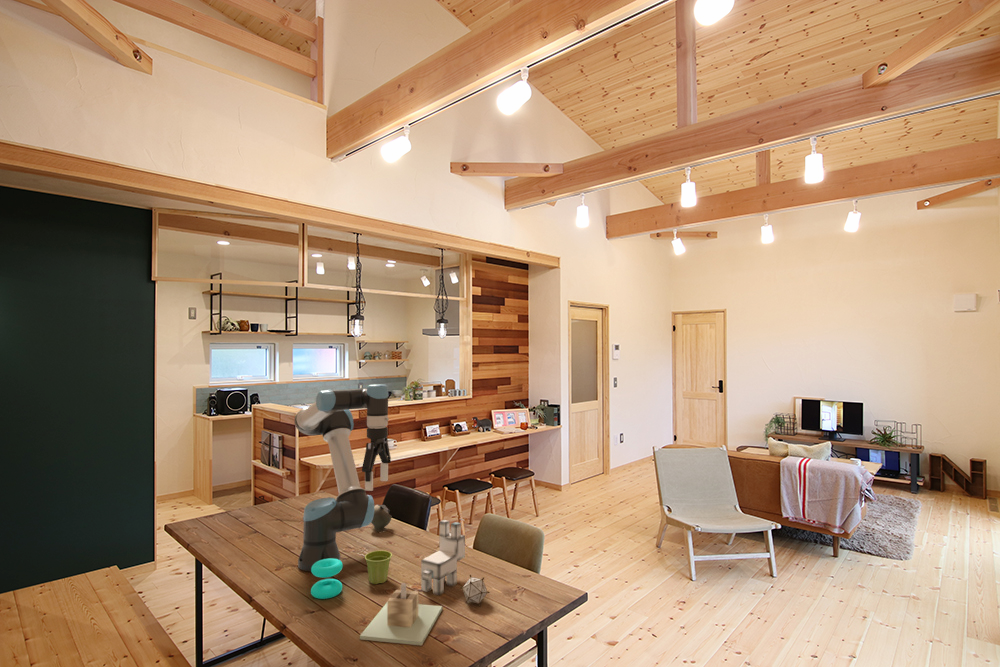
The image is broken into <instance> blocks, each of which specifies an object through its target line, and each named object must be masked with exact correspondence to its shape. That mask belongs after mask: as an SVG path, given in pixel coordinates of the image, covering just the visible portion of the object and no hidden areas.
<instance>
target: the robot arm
mask: <svg viewBox="0 0 1000 667" xmlns="http://www.w3.org/2000/svg"><path fill="white" fill-rule="evenodd" d="M389 395H390V393H389V387H388V385H387V384H379V383H377V384H374V383H373V384H369V385H368V386H367V387H361V388H352V389H351V388H350V389H324V390H320V391H318V392H317V394H316V396H315V402H313V403H312V404H311V405H309V406H308V407H303V408H302V409H300V410H299V411H298V412H297V413H296V415H295V417H294V426H295V428H296V429H297V430H298V431H299V432H300V433H301V434H303V435H307V436H322V438H323V441H324V442H326V443H327V444H328V448H329V453H330V454H329V455H330V457H331V464H332V467H333V471H334V476H335V480H336V486H337V491H338V495H337V496H336V498H334V497H330V496H329V497H323V498H322V497H321V498H317V499H314V500H312V501H310V502H308V503H307V504H306V505H305V507H304V509H303V510H304V511H303V517H302V519H303V537H302V538H303V543H302V544H303V545H302V548H301V550H300V553H299V556H298V560H297V567H298V569H299V570H301V571H304V572H311V568H312V565H313V564H314V563H316V562H317V561H319V560H323V559H328V558H334V559H338V560H340V561H341V553H340V551H339V547H338V543H337V540H336V535H337V533H340V532H345V531H349V530H356V529H361V528H363V527H367V526H369V525H370V524H372V523H371V522H372V520H373V516H374V506H375V500H374V498H373V496H372V495H371V494H370V495H369V494H367V493H366V491H368V492H370V491H371V492H372V491H374V471H373V469H374V465H375V462H376V459H377V456H379V459H380V461H381V463H380V474H379V475H380V479H379V480H380V482H388V480H389V464H390V463H392V462H391V453H390V448H389V443H388V441H389V438H388V436H389V428H388V425H389V424H388V423H389V420H390V418H389ZM360 409H361V410H362V409H363V410H364V409H366V426H367V428H366V438H367V439H370V442H366V444H365V452H364V453H365V454H364V457H363V458H364V459H363V463H362V466H361V467H362V468H361V472H362V473H364V488H363V487H361V484H360V480H359V476H358V472H357V466H356V462H355V459H354V455H353V450H352V447H351V442H350V435H351V433H352V431H353V430H354V424H355V423H354V416H353V414H352V412H351V410H360Z"/></svg>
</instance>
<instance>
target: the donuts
mask: <svg viewBox="0 0 1000 667" xmlns="http://www.w3.org/2000/svg"><path fill="white" fill-rule="evenodd" d="M343 567H344V564H343V562H342V560H341V559H340V560H338V559H334V558H328V559H323V560H319V561H317V562H316V563H314V564H313V565H312V568H311V571H310V572H311V574H312V575H313V576H314V577H317V578H324V579H320V580H318V581H317V582H315V583H314V584H312V587H311V589H310V594H311V596H312V597H314V598H315V599H320V600H325V599H331V598H334V597H336V596H338V595H339V594H341V592H342V590H343V586H344V585H343V584H342V582H341V581H340V580H338V579H337V578H331V577H334V576H336V575H338V574H339V573H340V572H341V571H342V570H343Z"/></svg>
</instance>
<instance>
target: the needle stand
mask: <svg viewBox="0 0 1000 667" xmlns="http://www.w3.org/2000/svg"><path fill="white" fill-rule="evenodd" d="M400 590H401V599H406V591H407V583H406V582H402V583H401V584H400ZM387 605H388V601H386V603H385V604H384V606H382V608H381V609H380V610H379V612H378V613H377V614H376V615H375V616H374V618H373V619H372V620H371V621H370V623H369V624H368V625H367V627H365V629H364V630H363V631H362V632H361V633H360V635H359V640H363V641H373V642H374V641H375V642H381V643H382V642H384V643H392V644H402V645H403V644H404V645H411V646H412V645H413V646H423V644H424V642H425V641H426V639H427V637H428V635H429V634H430V632H431V630H432V629H433V627H434V626H435V623H436V621H437V619H438V618H439V617H440V614H441V612H442V611H443V605H432V604H421V603H420V604H419V603H418V617H417V618H416V620H415V621H414V623H413V624H412V626H411V627H400V626H389V625H387Z"/></svg>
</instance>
